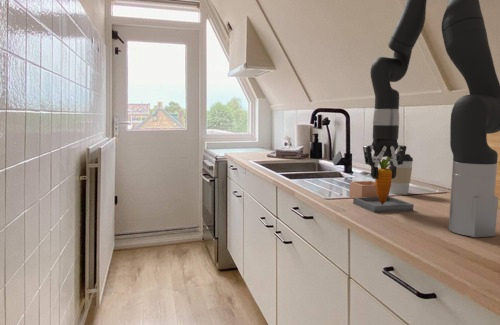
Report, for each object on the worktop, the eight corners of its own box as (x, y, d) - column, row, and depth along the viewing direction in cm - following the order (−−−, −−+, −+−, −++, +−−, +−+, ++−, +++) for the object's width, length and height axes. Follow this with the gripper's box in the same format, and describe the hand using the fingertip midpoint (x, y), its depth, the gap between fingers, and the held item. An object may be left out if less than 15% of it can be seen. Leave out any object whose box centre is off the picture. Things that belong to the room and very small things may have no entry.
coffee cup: (380, 191, 148) (382, 152, 147) (399, 190, 152) (401, 152, 150) (397, 195, 140) (399, 154, 138) (416, 194, 143) (419, 154, 142)
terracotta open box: (384, 200, 131) (385, 184, 130) (361, 201, 129) (362, 185, 128) (371, 195, 139) (371, 180, 139) (349, 196, 137) (349, 181, 137)
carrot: (370, 203, 122) (372, 156, 121) (382, 202, 124) (384, 155, 122) (381, 206, 118) (383, 157, 116) (394, 205, 120) (396, 157, 118)
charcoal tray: (413, 210, 116) (413, 204, 116) (374, 212, 113) (374, 206, 113) (388, 201, 129) (388, 196, 129) (353, 203, 126) (353, 197, 126)
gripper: (371, 124, 113) (368, 181, 115) (414, 124, 116) (411, 179, 118) (358, 123, 120) (356, 177, 122) (399, 124, 123) (396, 176, 125)
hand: (383, 178), depth 120 cm, fingers open, 5 cm apart
